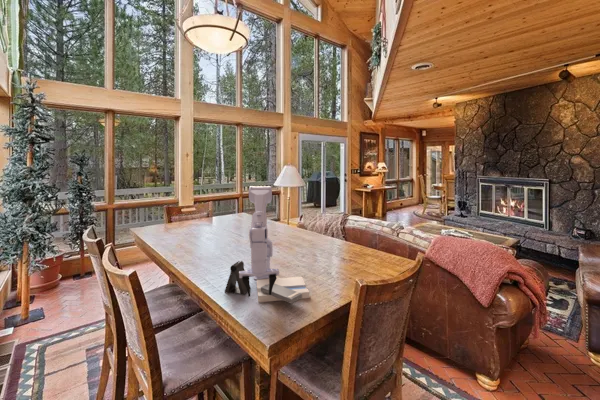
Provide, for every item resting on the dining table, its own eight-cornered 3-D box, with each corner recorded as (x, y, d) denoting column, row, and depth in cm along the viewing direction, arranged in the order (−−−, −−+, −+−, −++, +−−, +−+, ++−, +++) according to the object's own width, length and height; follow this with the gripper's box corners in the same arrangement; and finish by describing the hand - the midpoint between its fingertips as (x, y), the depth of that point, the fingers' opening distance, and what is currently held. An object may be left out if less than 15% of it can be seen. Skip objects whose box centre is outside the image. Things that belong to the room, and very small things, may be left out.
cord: (281, 288, 118) (281, 291, 116) (305, 287, 120) (306, 289, 118) (281, 294, 118) (281, 296, 116) (305, 292, 120) (306, 294, 118)
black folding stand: (250, 289, 123) (250, 261, 121) (244, 295, 117) (243, 266, 116) (231, 286, 125) (231, 259, 124) (224, 292, 120) (223, 264, 118)
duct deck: (256, 285, 126) (256, 279, 126) (301, 281, 130) (301, 276, 130) (258, 302, 111) (258, 296, 111) (309, 297, 114) (309, 291, 114)
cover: (270, 285, 119) (270, 281, 119) (301, 297, 108) (301, 293, 108) (259, 290, 114) (259, 286, 114) (291, 303, 104) (291, 298, 104)
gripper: (238, 264, 101) (239, 301, 103) (279, 261, 104) (280, 297, 105) (239, 257, 108) (240, 292, 110) (277, 255, 111) (278, 289, 112)
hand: (259, 294), depth 108 cm, fingers open, 7 cm apart
